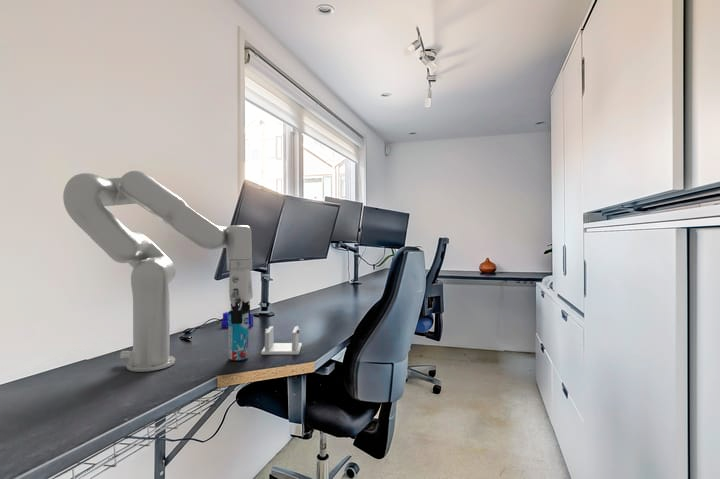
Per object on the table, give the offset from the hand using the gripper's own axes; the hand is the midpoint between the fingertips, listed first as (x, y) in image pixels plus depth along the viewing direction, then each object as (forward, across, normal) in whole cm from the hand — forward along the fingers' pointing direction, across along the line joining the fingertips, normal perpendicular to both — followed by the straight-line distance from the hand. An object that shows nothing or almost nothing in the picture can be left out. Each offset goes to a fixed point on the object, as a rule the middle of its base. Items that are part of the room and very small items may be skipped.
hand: (241, 320), depth 121 cm
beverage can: (+12, 0, +1) cm, 12 cm away
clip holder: (+13, +10, -11) cm, 19 cm away
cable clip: (+12, +44, +13) cm, 47 cm away
